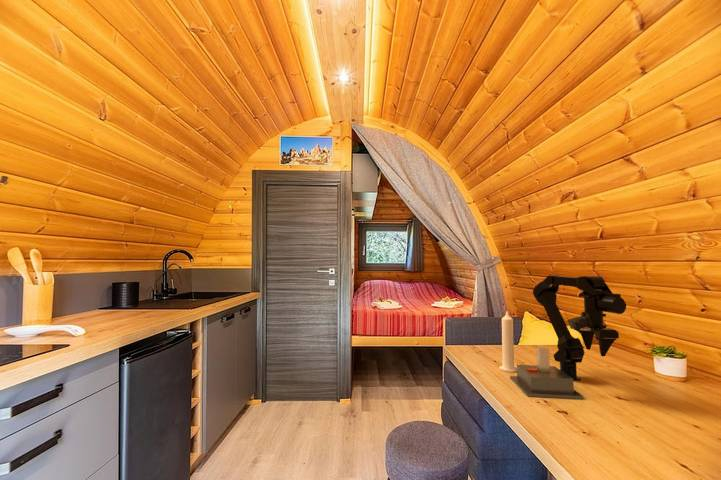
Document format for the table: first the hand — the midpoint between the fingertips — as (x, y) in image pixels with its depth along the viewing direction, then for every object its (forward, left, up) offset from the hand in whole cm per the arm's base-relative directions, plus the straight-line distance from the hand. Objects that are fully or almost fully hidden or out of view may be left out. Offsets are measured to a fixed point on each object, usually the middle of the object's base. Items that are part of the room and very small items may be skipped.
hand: (595, 352), depth 123 cm
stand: (+1, -19, -13) cm, 23 cm away
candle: (-19, -25, -13) cm, 34 cm away
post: (+1, -19, -8) cm, 21 cm away
